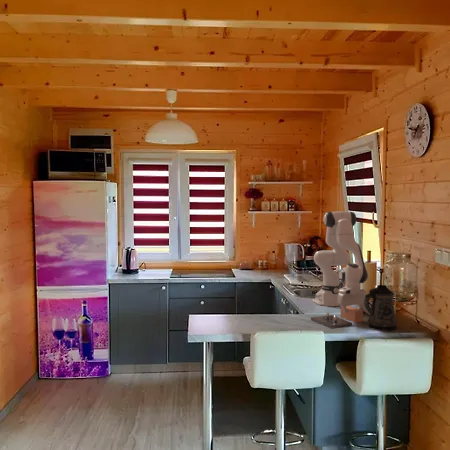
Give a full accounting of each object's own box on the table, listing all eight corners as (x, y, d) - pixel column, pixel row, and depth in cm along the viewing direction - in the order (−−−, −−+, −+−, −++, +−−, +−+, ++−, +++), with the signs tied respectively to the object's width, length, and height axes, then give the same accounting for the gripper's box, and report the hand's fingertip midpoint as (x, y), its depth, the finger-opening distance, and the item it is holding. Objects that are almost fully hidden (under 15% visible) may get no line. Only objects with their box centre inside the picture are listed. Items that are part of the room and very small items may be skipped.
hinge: (380, 316, 303) (376, 302, 302) (373, 319, 302) (369, 304, 301) (369, 310, 319) (365, 296, 318) (363, 312, 319) (359, 299, 318)
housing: (340, 317, 300) (341, 306, 299) (348, 316, 302) (348, 305, 302) (354, 322, 287) (355, 311, 287) (362, 321, 289) (363, 310, 289)
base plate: (310, 319, 292) (311, 311, 292) (332, 317, 298) (332, 309, 298) (330, 328, 274) (330, 319, 273) (352, 325, 280) (352, 317, 280)
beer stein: (402, 327, 276) (403, 286, 275) (385, 333, 263) (386, 290, 262) (376, 322, 289) (378, 282, 287) (359, 327, 276) (360, 285, 274)
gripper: (362, 288, 300) (361, 309, 301) (336, 289, 292) (335, 311, 293) (369, 289, 294) (368, 311, 295) (342, 291, 286) (341, 314, 287)
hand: (351, 311), depth 294 cm, fingers open, 8 cm apart
